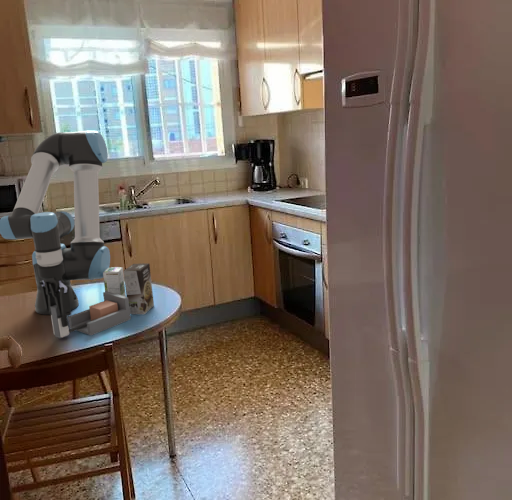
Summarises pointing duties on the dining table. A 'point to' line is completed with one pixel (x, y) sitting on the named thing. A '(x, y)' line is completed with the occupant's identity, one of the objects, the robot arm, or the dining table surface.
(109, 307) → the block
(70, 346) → the dining table surface
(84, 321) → the tray
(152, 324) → the dining table surface
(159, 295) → the dining table surface
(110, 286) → the syrup box
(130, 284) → the coffee box
